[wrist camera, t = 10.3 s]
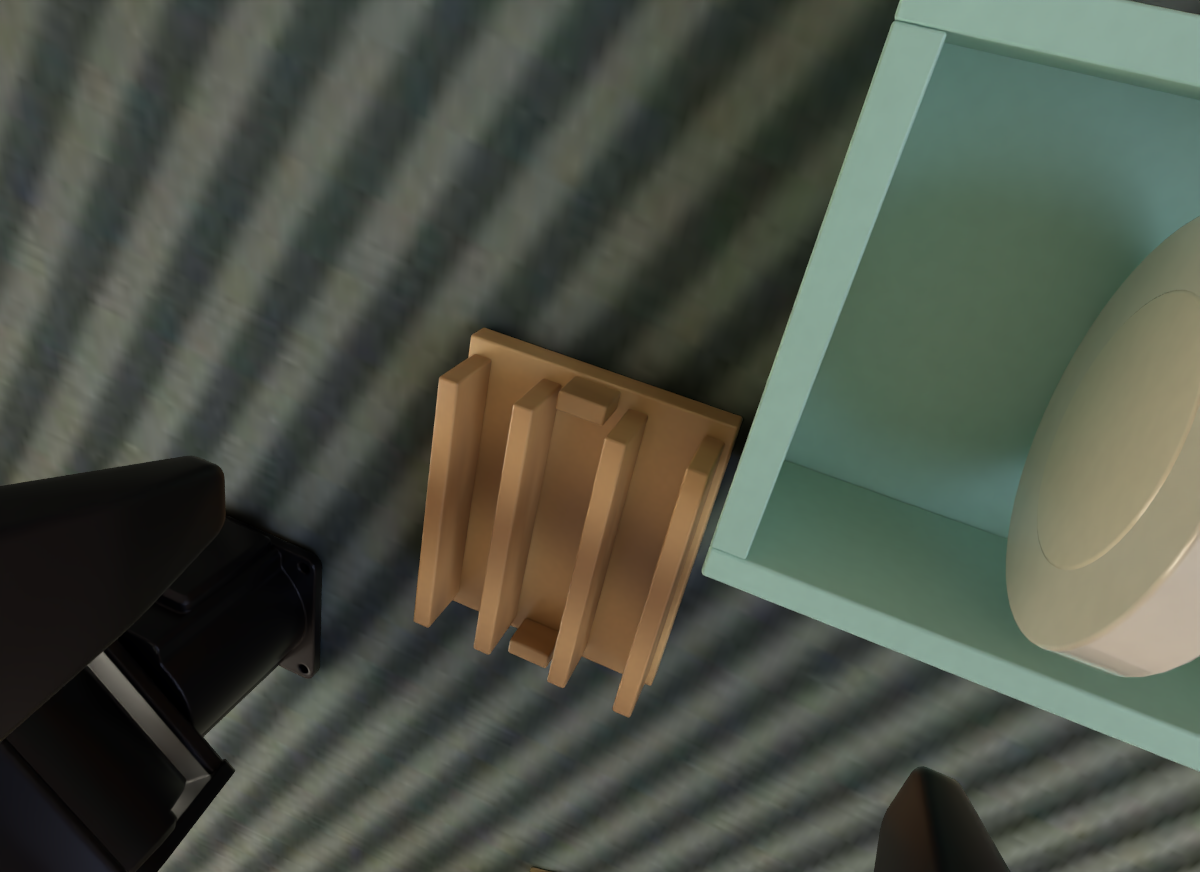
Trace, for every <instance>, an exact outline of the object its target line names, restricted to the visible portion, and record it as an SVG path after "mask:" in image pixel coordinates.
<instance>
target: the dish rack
mask: <svg viewBox="0 0 1200 872" xmlns="http://www.w3.org/2000/svg"><path fill="white" fill-rule="evenodd" d="M742 421H743V419H742V417H741V416H738V415H735V414H732V413H729V412H726V411H724V410H721V409H718V408H715V407H712V406H709V405H706V404H703V403H700V402H698V401H695V400H692V399H689V398H686V397H683V396H680V395H677V394H674V393H672V392H669V391H666V390H663V389H660V388H657V387H654V386H651V385H648V384H646V383H643V382H640V381H637V380H634V379H631V378H628V377H625V376H622V375H620V374H617V373H614V372H611V371H608V370H605V369H602V368H599V367H596V366H594V365H591V364H588V363H585V362H582V361H579V360H576V359H573V358H571V357H568V356H565V355H562V354H559V353H556V352H553V351H550V350H547V349H545V348H542V347H539V346H536V345H533V344H530V343H527V342H524V341H521V340H519V339H516V338H513V337H510V336H507V335H504V334H501V333H498V332H495V331H493V330H490V329H487V328H482V329H481V330H479V331H477V332H476V333H474V334H472V336H471V342H470V350H469V358H467V359H466V360H464V361H463V362H461V363H460V364H458V365H457V366H455V367H454V368H452V369H451V370H449V371H448V372H446V373H445V374H443V375H442V376H440V378H439V384H438V394H437V403H436V413H435V422H434V431H433V441H432V450H431V460H430V469H429V479H428V488H427V498H426V507H425V517H424V526H423V536H422V545H421V554H420V564H419V573H418V583H417V592H416V602H415V611H414V622H416V623H418V624H420V625H423V626H425V627H430V626H431V624H432V623H433V622H434V621H435V620H436V619H437V617H438V616H439V615H440V614H441V613H442V611H443V610H444V609H445V608H446V607H447V606H448V604H449V603H450V602H451V601H452V600H453V601H456V602H458V603H460V604H463V605H465V606H467V607H470V608H472V609H474V610H476V611H479V616H478V623H477V629H476V635H475V641H474V649H476V650H479V651H481V652H483V653H485V654H488V655H489V654H490V653H491V652H492V650H493V649H494V647H495V646H496V645H497V643H498V642H499V640H500V639H501V638H502V636H503V635H504V633H505V632H506V630H507V629H508V628H509V626H510V625H511V626H513V627H516V628H518V629H517V631H516V632H515V633H514V635H513V636H512V638H511V639H510V644H509V649H508V652H510V653H512V654H514V655H516V656H519V657H521V658H523V659H525V660H528V661H530V662H532V663H534V664H537V665H539V666H541V667H543V668H546V667H547V666H548V664H549V662H550V661H551V659H552V661H551V666H550V670H549V674H548V678H547V681H548V682H550V683H552V684H554V685H557V686H559V687H561V688H564V687H565V685H566V684H567V682H568V680H569V678H570V676H571V675H572V673H573V671H574V669H575V667H576V666H577V664H578V662H579V660H580V658H581V657H585V658H587V659H589V660H591V661H594V662H596V663H598V664H601V665H603V666H605V667H608V668H610V669H612V670H614V671H617V672H619V673H621V674H623V675H622V679H621V682H620V685H619V688H618V692H617V695H616V698H615V701H614V705H613V711H615V712H617V713H619V714H622V715H624V716H626V717H630V716H631V714H632V712H633V709H634V707H635V705H636V702H637V700H638V698H639V695H640V693H641V691H642V688H643V686H644V684H647V685H649V686H650V685H651V684H652V683H653V680H654V678H655V675H656V673H657V670H658V668H659V665H660V662H661V659H662V656H663V653H664V650H665V647H666V644H667V641H668V638H669V635H670V632H671V629H672V626H673V623H674V620H675V618H676V615H677V612H678V609H679V606H680V603H681V600H682V597H683V594H684V591H685V588H686V585H687V582H688V579H689V576H690V573H691V571H692V568H693V565H694V562H695V559H696V556H697V553H698V550H699V547H700V544H701V541H702V538H703V535H704V532H705V529H706V526H707V523H708V521H709V518H710V515H711V512H712V509H713V506H714V503H715V500H716V497H717V494H718V491H719V488H720V485H721V482H722V479H723V476H724V473H725V471H726V468H727V465H728V462H729V459H730V456H731V453H732V450H733V447H734V444H735V441H736V438H737V435H738V432H739V429H740V426H741V423H742Z"/></svg>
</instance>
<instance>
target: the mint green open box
mask: <svg viewBox="0 0 1200 872" xmlns="http://www.w3.org/2000/svg"><path fill="white" fill-rule="evenodd" d="M1199 215H1200V15H1198V14H1193V13H1188V12H1183V11H1178V10H1173V9H1168V8H1163V7H1159V6H1154V5H1149V4H1144V3H1139V2H1134V1H1129V0H900V1H899V4H898V7H897V10H896V13H895V21H894V22H893V23H892V24H891V27H890V30H889V33H888V36H887V39H886V42H885V45H884V47H883V50H882V53H881V56H880V59H879V62H878V65H877V68H876V70H875V73H874V76H873V79H872V82H871V85H870V88H869V90H868V93H867V96H866V99H865V102H864V105H863V108H862V111H861V113H860V116H859V119H858V122H857V125H856V128H855V131H854V134H853V136H852V139H851V142H850V145H849V148H848V151H847V154H846V156H845V159H844V162H843V165H842V168H841V171H840V174H839V177H838V179H837V182H836V185H835V188H834V191H833V194H832V197H831V200H830V202H829V205H828V208H827V211H826V214H825V217H824V220H823V222H822V225H821V228H820V231H819V234H818V237H817V240H816V243H815V245H814V248H813V251H812V254H811V257H810V260H809V263H808V266H807V268H806V271H805V274H804V277H803V280H802V283H801V286H800V288H799V291H798V294H797V297H796V300H795V303H794V306H793V309H792V311H791V314H790V317H789V320H788V323H787V326H786V329H785V332H784V334H783V337H782V340H781V343H780V346H779V349H778V352H777V354H776V357H775V360H774V363H773V366H772V369H771V372H770V375H769V377H768V380H767V383H766V386H765V389H764V392H763V395H762V398H761V400H760V403H759V406H758V409H757V412H756V415H755V418H754V420H753V423H752V426H751V429H750V432H749V435H748V438H747V441H746V443H745V446H744V449H743V452H742V455H741V458H740V461H739V464H738V466H737V469H736V472H735V475H734V478H733V481H732V484H731V486H730V489H729V492H728V495H727V498H726V501H725V504H724V507H723V509H722V512H721V515H720V518H719V521H718V524H717V527H716V530H715V532H714V535H713V538H712V541H711V545H710V547H709V550H708V553H707V556H706V558H705V561H704V564H703V567H702V574H703V575H704V576H707V577H709V578H712V579H714V580H717V581H719V582H722V583H725V584H727V585H730V586H732V587H735V588H737V589H740V590H742V591H745V592H747V593H750V594H752V595H755V596H757V597H760V598H762V599H765V600H767V601H770V602H773V603H775V604H778V605H780V606H783V607H785V608H788V609H790V610H793V611H795V612H798V613H800V614H803V615H805V616H808V617H810V618H813V619H815V620H818V621H820V622H823V623H826V624H828V625H831V626H833V627H836V628H838V629H841V630H843V631H846V632H848V633H851V634H853V635H856V636H858V637H861V638H863V639H866V640H868V641H871V642H873V643H876V644H879V645H881V646H884V647H886V648H889V649H891V650H894V651H896V652H899V653H901V654H904V655H906V656H909V657H911V658H914V659H916V660H919V661H921V662H924V663H927V664H929V665H932V666H934V667H937V668H939V669H942V670H944V671H947V672H949V673H952V674H954V675H957V676H959V677H962V678H964V679H967V680H969V681H972V682H974V683H977V684H980V685H982V686H985V687H987V688H990V689H992V690H995V691H997V692H1000V693H1002V694H1005V695H1007V696H1010V697H1012V698H1015V699H1017V700H1020V701H1022V702H1025V703H1027V704H1030V705H1033V706H1035V707H1038V708H1040V709H1043V710H1045V711H1048V712H1050V713H1053V714H1055V715H1058V716H1060V717H1063V718H1065V719H1068V720H1070V721H1073V722H1075V723H1078V724H1081V725H1083V726H1086V727H1088V728H1091V729H1093V730H1096V731H1098V732H1101V733H1103V734H1106V735H1108V736H1111V737H1113V738H1116V739H1118V740H1121V741H1123V742H1126V743H1128V744H1131V745H1134V746H1136V747H1139V748H1141V749H1144V750H1146V751H1149V752H1151V753H1154V754H1156V755H1159V756H1161V757H1164V758H1166V759H1169V760H1171V761H1174V762H1176V763H1179V764H1181V765H1184V766H1187V767H1189V768H1192V769H1194V770H1197V771H1199V772H1200V656H1199V657H1198V658H1196V659H1194V660H1193V661H1191V662H1189V663H1187V664H1185V665H1182V666H1180V667H1178V668H1175V669H1173V670H1171V671H1168V672H1165V673H1161V674H1156V675H1152V676H1148V677H1119V676H1114V675H1110V674H1106V673H1103V672H1101V671H1098V670H1095V669H1093V668H1090V667H1088V666H1085V665H1082V664H1080V663H1077V662H1074V661H1072V660H1069V659H1066V658H1064V657H1061V656H1059V655H1056V654H1053V653H1051V652H1048V651H1045V650H1043V649H1041V648H1039V647H1038V646H1036V645H1034V644H1032V643H1031V642H1030V641H1029V640H1028V639H1027V638H1026V637H1025V636H1024V635H1023V634H1022V633H1021V631H1020V629H1019V628H1018V626H1017V624H1016V623H1015V621H1014V618H1013V615H1012V612H1011V610H1010V606H1009V601H1008V596H1007V587H1006V551H1007V540H1008V533H1009V526H1010V520H1011V515H1012V510H1013V505H1014V501H1015V496H1016V493H1017V489H1018V485H1019V481H1020V478H1021V475H1022V471H1023V468H1024V465H1025V462H1026V459H1027V456H1028V453H1029V450H1030V447H1031V445H1032V442H1033V439H1034V437H1035V434H1036V432H1037V429H1038V427H1039V424H1040V422H1041V419H1042V417H1043V415H1044V412H1045V410H1046V408H1047V406H1048V404H1049V401H1050V399H1051V397H1052V395H1053V393H1054V391H1055V389H1056V387H1057V385H1058V383H1059V381H1060V379H1061V377H1062V375H1063V373H1064V371H1065V369H1066V367H1067V366H1068V364H1069V362H1070V360H1071V359H1072V357H1073V355H1074V353H1075V351H1076V350H1077V348H1078V346H1079V345H1080V343H1081V342H1082V340H1083V338H1084V337H1085V335H1086V333H1087V332H1088V330H1089V329H1090V327H1091V326H1092V324H1093V323H1094V321H1095V320H1096V318H1097V317H1098V315H1099V314H1100V312H1101V311H1102V309H1103V308H1104V307H1105V305H1106V304H1107V303H1108V301H1109V300H1110V299H1111V297H1112V296H1113V295H1114V293H1115V292H1116V291H1117V290H1118V288H1119V287H1120V286H1121V285H1122V284H1123V282H1124V281H1125V280H1126V279H1127V278H1128V276H1129V275H1130V274H1131V273H1132V272H1133V271H1134V270H1135V268H1136V267H1137V266H1138V265H1139V264H1140V263H1141V262H1142V261H1143V260H1144V259H1145V258H1146V257H1147V256H1148V255H1149V254H1150V253H1151V252H1152V251H1153V250H1154V249H1155V248H1156V247H1157V246H1158V245H1159V244H1161V243H1162V242H1163V241H1164V240H1165V239H1166V238H1167V237H1169V236H1170V235H1171V234H1172V233H1174V232H1175V231H1176V230H1178V229H1179V228H1180V227H1181V226H1183V225H1185V224H1186V223H1188V222H1189V221H1191V220H1193V219H1194V218H1196V217H1198V216H1199Z"/></svg>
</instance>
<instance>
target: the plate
mask: <svg viewBox="0 0 1200 872" xmlns="http://www.w3.org/2000/svg"><path fill="white" fill-rule="evenodd" d="M1006 587H1007V596H1008V601H1009V606H1010V610H1011V612H1012V615H1013V618H1014V621H1015V623H1016V624H1017V626H1018V628H1019V629H1020V631H1021V633H1022V634H1023V635H1024V636H1025V637H1026V638H1027V639H1028V640H1029V641H1030V642H1031V643H1032V644H1034V645H1036V646H1038V647H1039V648H1041V649H1043V650H1045V651H1048V652H1051V653H1053V654H1056V655H1059V656H1061V657H1064V658H1066V659H1069V660H1072V661H1074V662H1077V663H1080V664H1082V665H1085V666H1088V667H1090V668H1093V669H1095V670H1098V671H1101V672H1103V673H1106V674H1110V675H1114V676H1119V677H1148V676H1152V675H1156V674H1161V673H1165V672H1168V671H1171V670H1173V669H1175V668H1178V667H1180V666H1182V665H1185V664H1187V663H1189V662H1191V661H1193V660H1194V659H1196V658H1198V657H1199V656H1200V215H1199V216H1198V217H1196V218H1194V219H1193V220H1191V221H1189V222H1188V223H1186V224H1185V225H1183V226H1181V227H1180V228H1179V229H1178V230H1176V231H1175V232H1174V233H1172V234H1171V235H1170V236H1169V237H1167V238H1166V239H1165V240H1164V241H1163V242H1162V243H1161V244H1159V245H1158V246H1157V247H1156V248H1155V249H1154V250H1153V251H1152V252H1151V253H1150V254H1149V255H1148V256H1147V257H1146V258H1145V259H1144V260H1143V261H1142V262H1141V263H1140V264H1139V265H1138V266H1137V267H1136V268H1135V270H1134V271H1133V272H1132V273H1131V274H1130V275H1129V276H1128V278H1127V279H1126V280H1125V281H1124V282H1123V284H1122V285H1121V286H1120V287H1119V288H1118V290H1117V291H1116V292H1115V293H1114V295H1113V296H1112V297H1111V299H1110V300H1109V301H1108V303H1107V304H1106V305H1105V307H1104V308H1103V309H1102V311H1101V312H1100V314H1099V315H1098V317H1097V318H1096V320H1095V321H1094V323H1093V324H1092V326H1091V327H1090V329H1089V330H1088V332H1087V333H1086V335H1085V337H1084V338H1083V340H1082V342H1081V343H1080V345H1079V346H1078V348H1077V350H1076V351H1075V353H1074V355H1073V357H1072V359H1071V360H1070V362H1069V364H1068V366H1067V367H1066V369H1065V371H1064V373H1063V375H1062V377H1061V379H1060V381H1059V383H1058V385H1057V387H1056V389H1055V391H1054V393H1053V395H1052V397H1051V399H1050V401H1049V404H1048V406H1047V408H1046V410H1045V412H1044V415H1043V417H1042V419H1041V422H1040V424H1039V427H1038V429H1037V432H1036V434H1035V437H1034V439H1033V442H1032V445H1031V447H1030V450H1029V453H1028V456H1027V459H1026V462H1025V465H1024V468H1023V471H1022V475H1021V478H1020V481H1019V485H1018V489H1017V493H1016V496H1015V501H1014V505H1013V510H1012V515H1011V520H1010V526H1009V533H1008V540H1007V551H1006Z"/></svg>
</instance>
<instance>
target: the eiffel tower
mask: <svg viewBox="0 0 1200 872" xmlns="http://www.w3.org/2000/svg"><path fill="white" fill-rule="evenodd" d="M530 872H550V871H546V870H542V869H538V868H533V867H532V868H531V870H530Z"/></svg>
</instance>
